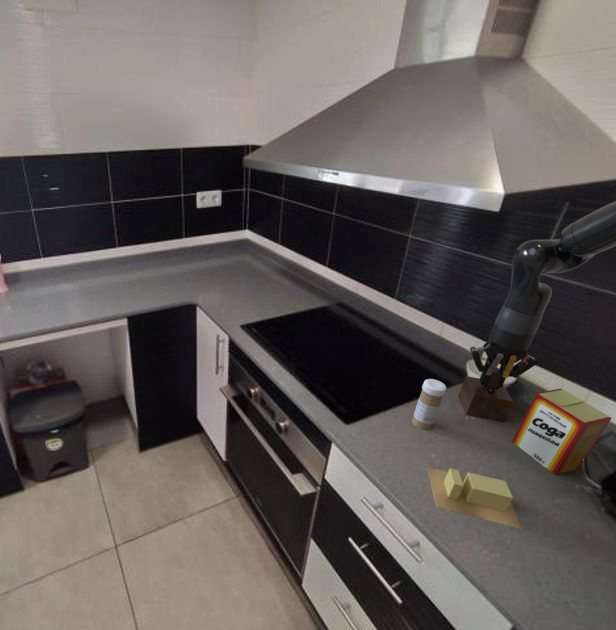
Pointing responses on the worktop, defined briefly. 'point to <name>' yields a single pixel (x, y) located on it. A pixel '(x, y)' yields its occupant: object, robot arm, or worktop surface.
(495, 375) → the knife
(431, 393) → the sprinkles bottle
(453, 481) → the butter slice
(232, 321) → the worktop surface
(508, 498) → the butter block
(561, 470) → the baking soda box
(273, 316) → the worktop surface
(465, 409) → the knife block
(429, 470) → the butter board
